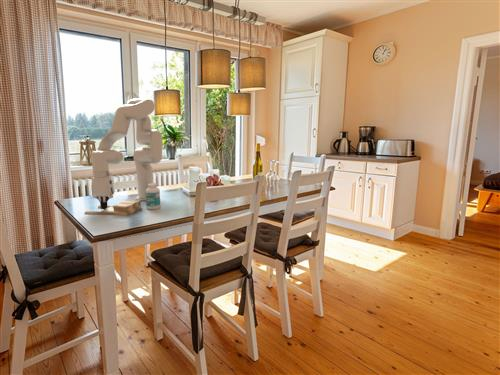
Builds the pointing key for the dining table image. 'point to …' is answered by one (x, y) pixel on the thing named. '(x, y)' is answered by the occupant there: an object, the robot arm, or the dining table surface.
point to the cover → (108, 209)
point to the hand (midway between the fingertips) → (104, 208)
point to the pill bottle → (152, 197)
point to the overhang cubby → (121, 208)
